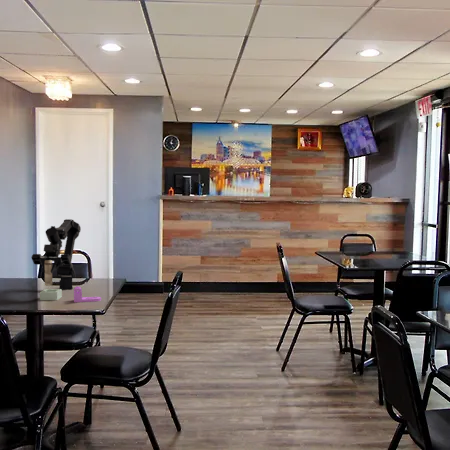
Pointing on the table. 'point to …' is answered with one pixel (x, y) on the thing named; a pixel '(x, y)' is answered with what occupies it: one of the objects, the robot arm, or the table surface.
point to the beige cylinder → (48, 272)
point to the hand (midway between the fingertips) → (47, 272)
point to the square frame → (51, 294)
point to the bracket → (79, 297)
